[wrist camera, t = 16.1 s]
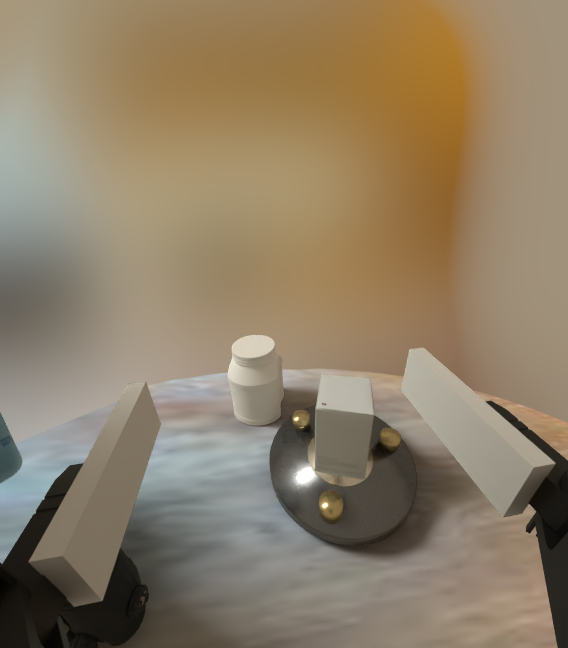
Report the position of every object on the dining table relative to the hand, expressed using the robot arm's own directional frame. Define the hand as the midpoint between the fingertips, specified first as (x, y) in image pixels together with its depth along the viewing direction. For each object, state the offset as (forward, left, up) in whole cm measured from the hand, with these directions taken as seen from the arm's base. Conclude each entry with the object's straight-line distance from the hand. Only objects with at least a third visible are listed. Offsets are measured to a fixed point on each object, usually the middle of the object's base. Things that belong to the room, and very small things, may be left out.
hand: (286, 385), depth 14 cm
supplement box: (+2, +19, -29) cm, 34 cm away
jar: (-17, +29, -33) cm, 46 cm away
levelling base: (+1, +19, -32) cm, 37 cm away
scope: (-20, -5, -33) cm, 38 cm away
